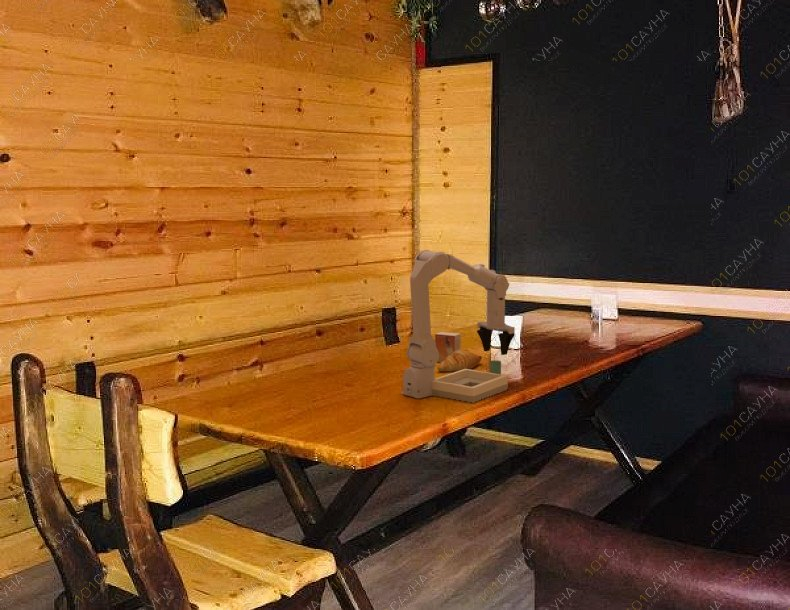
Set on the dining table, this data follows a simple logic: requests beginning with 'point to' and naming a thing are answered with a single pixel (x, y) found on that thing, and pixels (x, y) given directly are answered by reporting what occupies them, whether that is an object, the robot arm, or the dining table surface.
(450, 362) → the croissant
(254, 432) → the dining table surface
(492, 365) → the peg
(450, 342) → the small box
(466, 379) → the bore tray
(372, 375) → the dining table surface
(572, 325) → the dining table surface
